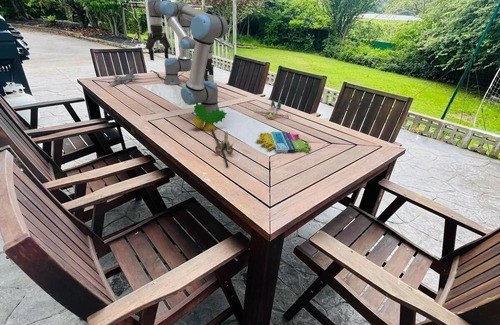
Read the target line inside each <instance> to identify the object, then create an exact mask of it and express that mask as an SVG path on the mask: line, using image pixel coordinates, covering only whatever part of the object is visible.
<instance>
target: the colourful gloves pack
mask: <svg viewBox="0 0 500 325" xmlns="http://www.w3.org/2000/svg"><path fill="white" fill-rule="evenodd" d="M299 136H300V135H299V134H298V133H296V134H294V133H291V132H287V131H270V132H264V133H263V132H260V133H259V139H258V138H257V139H256V143H257V144H261V148H263V147H264V148H265V149H267V151H268V152H271V151H272V150H273V149H275V152H276V153H283V154H285V153H287V154H288V153H290V154H293V153H296V152H298V153H301V152H305V153H310V151H311V150H312V149H311V148H312V146H309V142H304V141H303V139H302V138H299Z"/></svg>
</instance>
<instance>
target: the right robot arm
mask: <svg viewBox="0 0 500 325" xmlns="http://www.w3.org/2000/svg"><path fill="white" fill-rule="evenodd" d="M147 9H148V16H149V24H150V25H149V26H150V32H148V33H147V40H146V43H145V49H146V50H148V56H149V60H150V61H152V62H153V61H155V55H154V50H153V48H154V46H155V44H156V43H157V42H158V41H159V42H160V43H161V45H162V46H163V47H164V48H163V51H164V59H169V58H170V57H169V49H170V48H171V44H170V42H169V40H168V37H167V33H166V32H164V30H163V28H164V27H163V19H162V18H163V17H162V16H165V17H166V16H181V17H183V18H186V19H188V20H190V21H191V25H190V28H189V29H190V34H191V36H192V39H194V41H195V47H194V49H193V54H192V59H191V60H192V65H191V71H189V77H188V78H189V79H187V81H186V82H185V86H183V87H181V89H180V96H181V99H182V101H183V103H185V104H186V105H188V106H195V105H196V102H197V103H198V104H201V106H204V109H206V112H208V113H211V112H212V110H214V111H216V110H217V109H219V111H221V110H220V108H219V102H218V99H219V98H218V97H219V88H218V84H217V82H215V81H214V82H210V81H203V79H204V74H205V69H206V65H207V60H208V55H209V50H210V46H212V47H213V45H214V43H215V39H221V38H224V37H225V36H226V35H227V33H228V29H229V25H228V21H227V20H226V18H224V17H223V16H221V15H217V14H210V13H207V12H205V11H202V10H200V9H197V8H195V7H193V6H190V5H189V4H188V3H186V2H174V1H169V0H147ZM206 70H207V69H206ZM208 113H207V115H208ZM214 131H215V130H213V129H212V131H211V133H212V135H213V138H214V139H215V142H217V144H218V145H220V144H221V142H220V141H219V139H218V138H217V136H216V134H215V132H214ZM221 153H222V155H223V159H224V162H225V166H226V168H229V163H228V159H227V156H226V154H225V151H224V149H223V150H222V151H221Z"/></svg>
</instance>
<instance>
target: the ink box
mask: <svg viewBox="0 0 500 325" xmlns="http://www.w3.org/2000/svg"><path fill="white" fill-rule="evenodd" d="M214 78H215V76H214V74H213V75H209V74H208V76H207V79H208V81H210V82H215V81H214ZM203 81H205V79H203Z"/></svg>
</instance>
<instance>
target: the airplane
mask: <svg viewBox="0 0 500 325" xmlns="http://www.w3.org/2000/svg"><path fill="white" fill-rule="evenodd" d="M111 77H114V81H113V82H111V83H110V84H109V87H114V86H117V85H119V84H123V83H124V84H127V83H129V82H135V81H137V80H142V79H143V78H142V77H140V75H138V74H134V67H132V68H131V70H130V72H129V73H125V75H124V76H123V75H113V74H112V75H111ZM139 77H140V78H139Z"/></svg>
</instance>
